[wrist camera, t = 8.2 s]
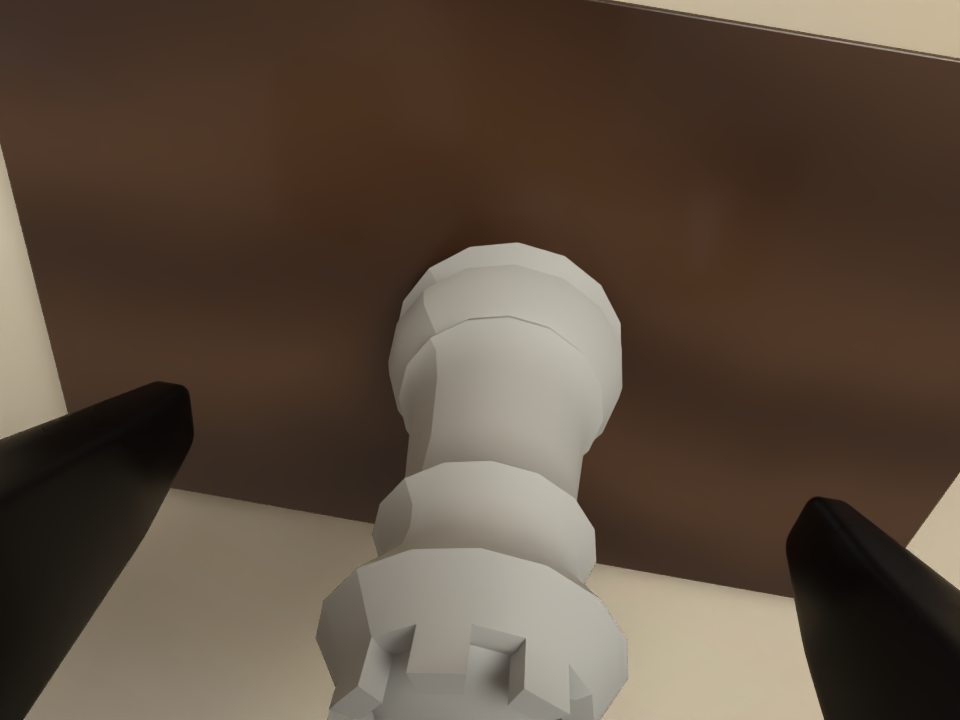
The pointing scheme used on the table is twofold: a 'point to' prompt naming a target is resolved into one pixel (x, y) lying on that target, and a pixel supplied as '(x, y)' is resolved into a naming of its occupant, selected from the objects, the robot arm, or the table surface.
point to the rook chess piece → (487, 505)
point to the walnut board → (500, 220)
